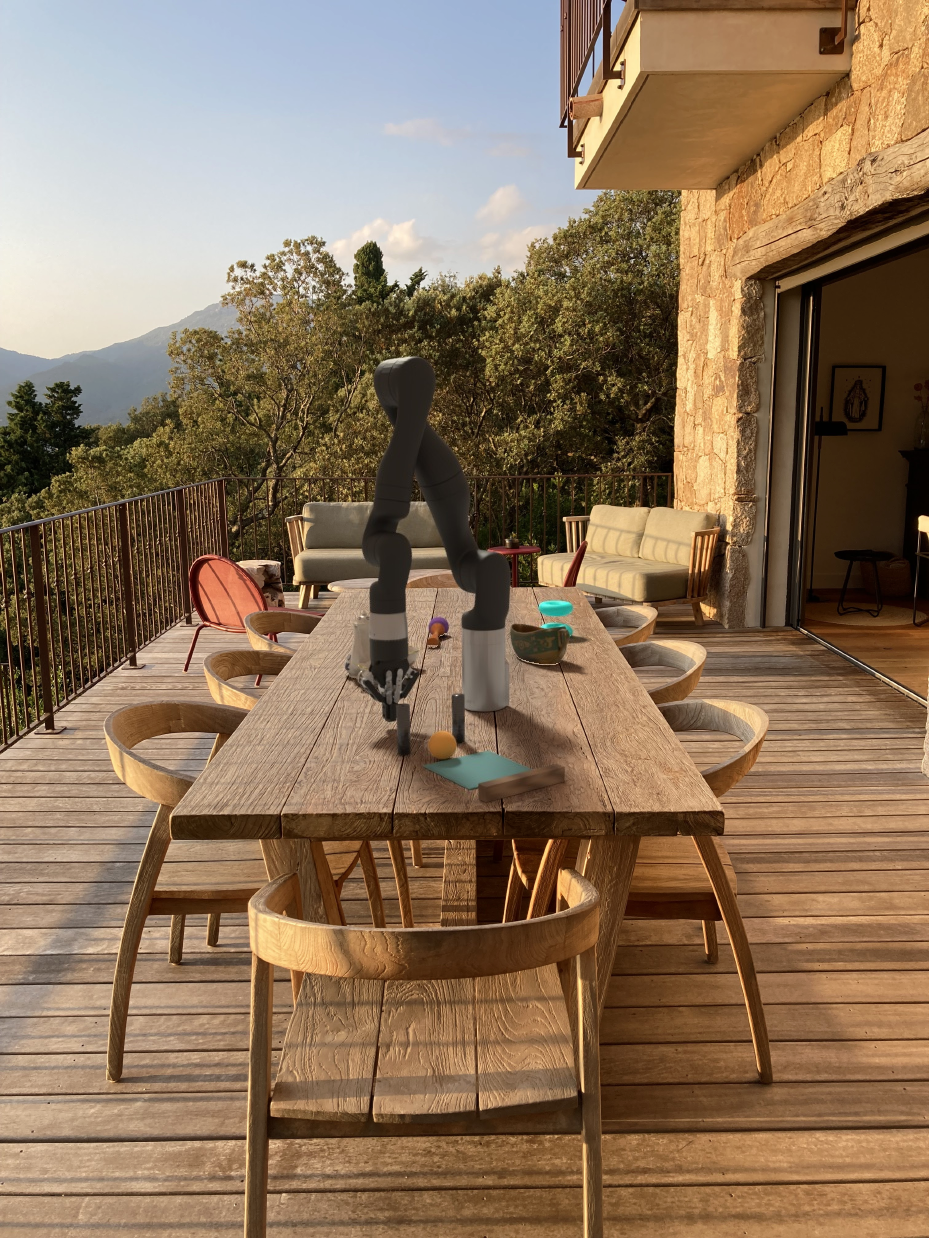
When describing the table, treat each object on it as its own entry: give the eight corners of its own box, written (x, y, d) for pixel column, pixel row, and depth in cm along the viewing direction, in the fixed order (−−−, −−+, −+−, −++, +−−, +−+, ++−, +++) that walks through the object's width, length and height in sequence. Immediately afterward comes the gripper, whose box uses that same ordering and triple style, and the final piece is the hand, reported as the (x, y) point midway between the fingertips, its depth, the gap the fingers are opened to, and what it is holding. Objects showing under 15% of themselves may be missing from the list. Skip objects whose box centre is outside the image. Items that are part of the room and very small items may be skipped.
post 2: (460, 738, 178) (459, 692, 176) (467, 741, 176) (467, 695, 174) (449, 741, 176) (449, 694, 175) (456, 744, 174) (456, 697, 173)
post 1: (406, 750, 171) (405, 702, 170) (413, 753, 169) (412, 705, 168) (395, 752, 170) (393, 704, 168) (401, 756, 168) (400, 707, 166)
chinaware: (391, 699, 213) (397, 628, 210) (322, 688, 216) (326, 618, 213) (423, 671, 240) (429, 607, 237) (361, 661, 243) (366, 599, 240)
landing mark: (488, 751, 170) (488, 750, 170) (536, 772, 159) (536, 771, 159) (422, 766, 162) (422, 765, 162) (469, 789, 151) (469, 788, 151)
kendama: (419, 635, 259) (427, 616, 278) (424, 655, 260) (432, 635, 279) (441, 631, 258) (447, 613, 277) (445, 651, 259) (451, 632, 279)
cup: (521, 670, 232) (521, 630, 230) (507, 654, 251) (508, 617, 250) (572, 669, 233) (573, 629, 232) (555, 653, 253) (555, 616, 251)
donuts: (579, 603, 270) (549, 606, 265) (579, 638, 271) (549, 641, 267) (561, 599, 278) (532, 601, 274) (561, 632, 280) (532, 635, 276)
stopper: (556, 777, 156) (556, 763, 156) (564, 781, 155) (564, 766, 154) (478, 798, 147) (478, 783, 147) (485, 802, 146) (485, 787, 145)
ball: (461, 732, 164) (461, 760, 165) (449, 726, 169) (449, 753, 170) (434, 736, 162) (435, 764, 163) (423, 729, 167) (424, 757, 168)
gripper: (367, 641, 175) (370, 731, 178) (427, 633, 182) (429, 719, 185) (348, 635, 181) (351, 722, 184) (407, 627, 188) (409, 711, 191)
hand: (390, 720), depth 185 cm, fingers closed
